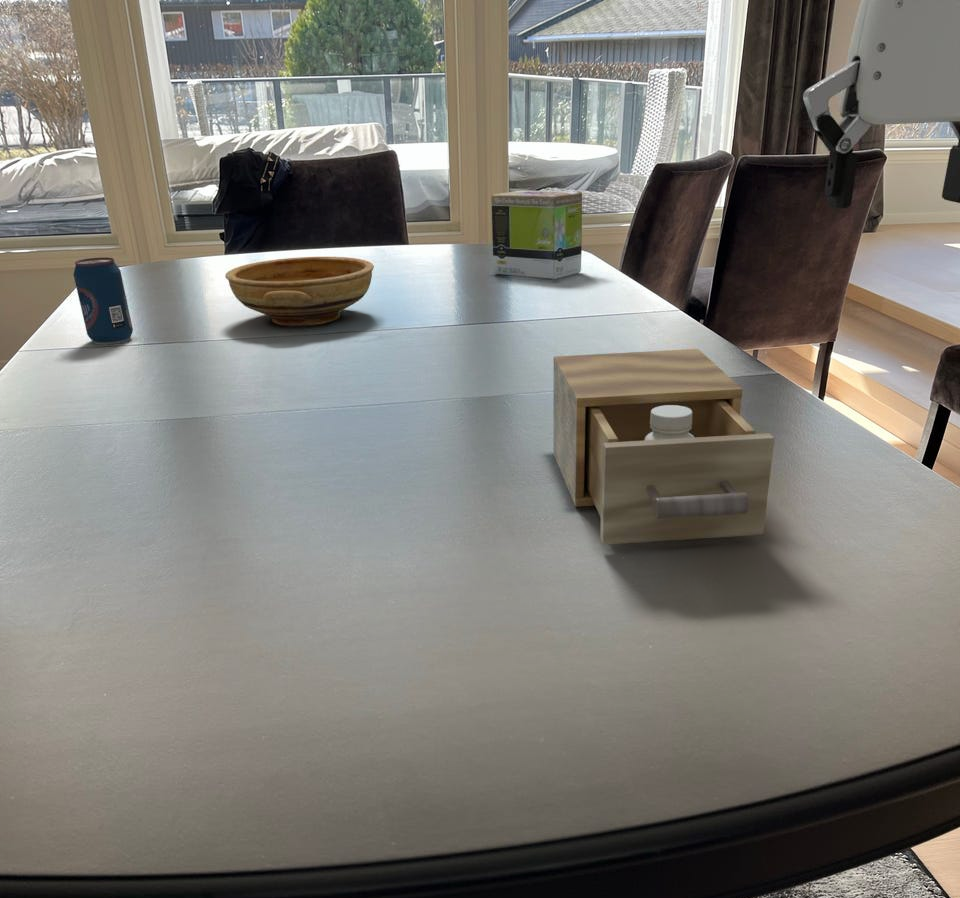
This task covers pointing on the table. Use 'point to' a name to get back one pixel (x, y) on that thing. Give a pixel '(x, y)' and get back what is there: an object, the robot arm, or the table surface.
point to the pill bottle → (670, 422)
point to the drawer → (676, 474)
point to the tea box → (537, 233)
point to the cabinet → (625, 396)
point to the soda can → (103, 300)
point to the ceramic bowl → (301, 287)
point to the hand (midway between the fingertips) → (896, 203)
